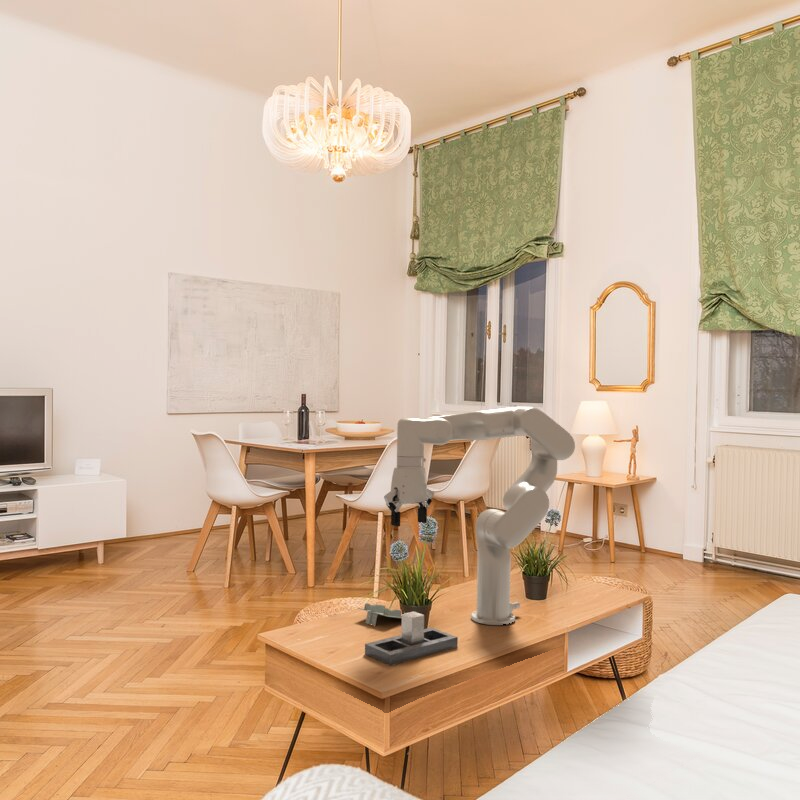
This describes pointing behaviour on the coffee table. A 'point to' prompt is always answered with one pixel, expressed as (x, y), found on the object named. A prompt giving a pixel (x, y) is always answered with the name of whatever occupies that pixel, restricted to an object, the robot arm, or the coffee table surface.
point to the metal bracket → (379, 612)
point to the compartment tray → (410, 647)
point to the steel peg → (412, 628)
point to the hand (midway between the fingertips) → (409, 524)
